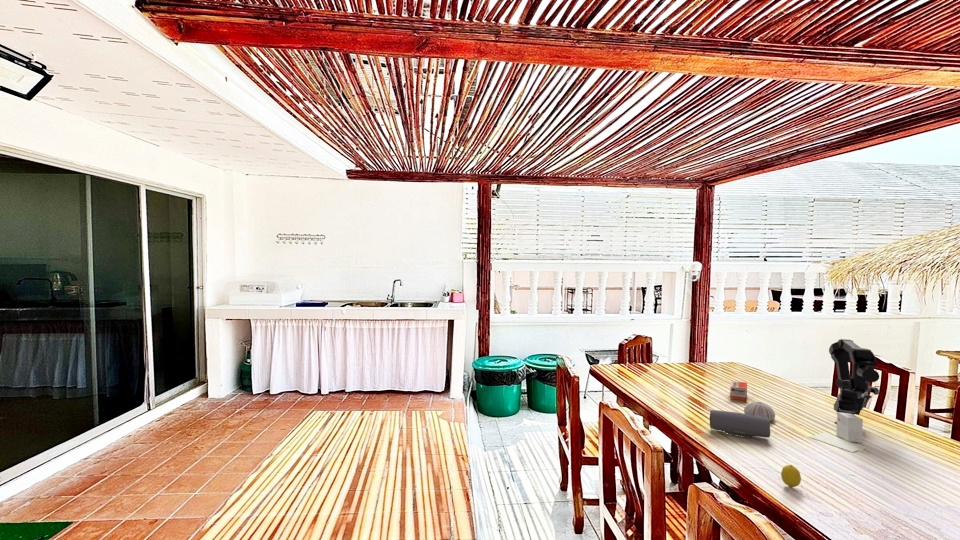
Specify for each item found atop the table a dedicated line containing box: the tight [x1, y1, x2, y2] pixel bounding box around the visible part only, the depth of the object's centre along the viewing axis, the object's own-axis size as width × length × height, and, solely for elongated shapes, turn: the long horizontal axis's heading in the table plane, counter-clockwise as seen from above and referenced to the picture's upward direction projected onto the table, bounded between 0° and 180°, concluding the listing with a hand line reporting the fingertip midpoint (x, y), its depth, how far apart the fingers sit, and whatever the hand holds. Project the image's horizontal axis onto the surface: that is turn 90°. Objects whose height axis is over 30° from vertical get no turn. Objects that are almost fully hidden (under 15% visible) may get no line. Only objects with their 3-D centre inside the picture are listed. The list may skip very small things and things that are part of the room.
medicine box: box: [729, 380, 748, 403], centre depth 243 cm, size 15×8×8 cm, turn 147°
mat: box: [809, 432, 867, 453], centre depth 183 cm, size 11×16×1 cm
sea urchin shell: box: [743, 401, 776, 422], centre depth 212 cm, size 13×14×8 cm
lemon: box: [780, 464, 802, 489], centre depth 146 cm, size 6×6×8 cm
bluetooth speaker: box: [709, 409, 771, 439], centre depth 190 cm, size 23×9×10 cm, turn 65°
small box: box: [836, 412, 864, 444], centre depth 187 cm, size 8×6×10 cm
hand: (859, 410), depth 190 cm, fingers closed
